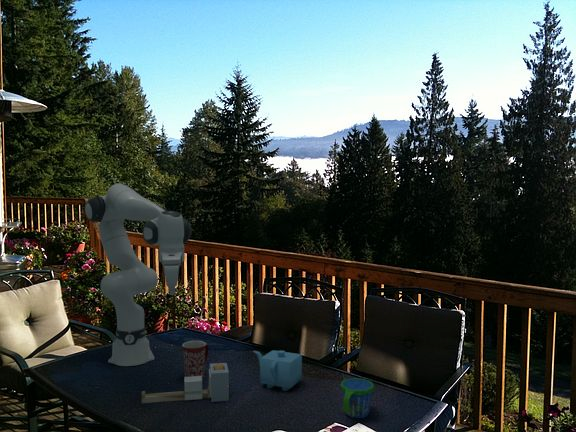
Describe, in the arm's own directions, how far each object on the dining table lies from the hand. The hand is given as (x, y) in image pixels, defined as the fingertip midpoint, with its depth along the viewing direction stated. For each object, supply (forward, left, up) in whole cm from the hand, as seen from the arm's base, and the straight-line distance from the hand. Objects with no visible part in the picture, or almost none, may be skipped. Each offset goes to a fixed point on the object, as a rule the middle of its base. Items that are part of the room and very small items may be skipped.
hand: (172, 294), depth 190 cm
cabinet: (+9, +16, -35) cm, 40 cm away
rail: (+9, +1, -35) cm, 36 cm away
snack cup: (+33, +59, -35) cm, 76 cm away
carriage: (+9, +7, -35) cm, 37 cm away
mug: (-11, +9, -35) cm, 38 cm away
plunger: (+9, +16, -29) cm, 34 cm away
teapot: (+2, +37, -35) cm, 51 cm away
